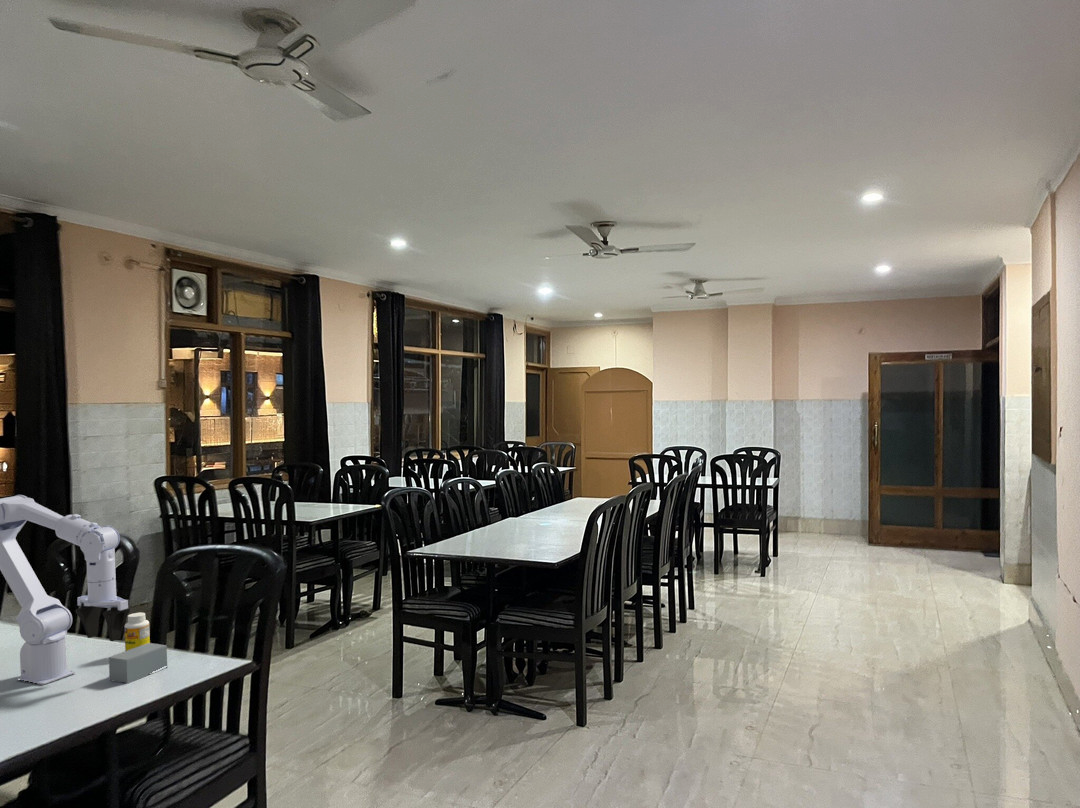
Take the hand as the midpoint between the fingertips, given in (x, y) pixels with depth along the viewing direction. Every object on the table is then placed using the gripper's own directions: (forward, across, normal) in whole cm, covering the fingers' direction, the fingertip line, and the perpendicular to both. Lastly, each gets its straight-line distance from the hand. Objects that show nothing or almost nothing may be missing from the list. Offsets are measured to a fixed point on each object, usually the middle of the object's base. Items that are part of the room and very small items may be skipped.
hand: (103, 638), depth 178 cm
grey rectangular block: (+9, +5, +5) cm, 12 cm away
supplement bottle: (+10, -8, +15) cm, 20 cm away
